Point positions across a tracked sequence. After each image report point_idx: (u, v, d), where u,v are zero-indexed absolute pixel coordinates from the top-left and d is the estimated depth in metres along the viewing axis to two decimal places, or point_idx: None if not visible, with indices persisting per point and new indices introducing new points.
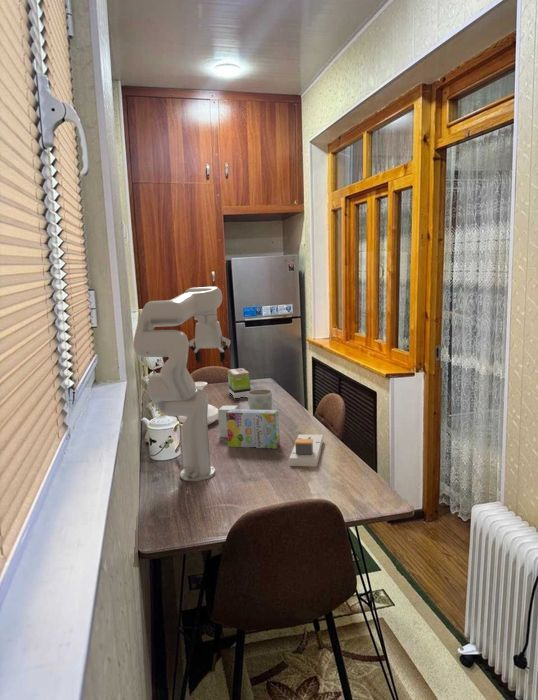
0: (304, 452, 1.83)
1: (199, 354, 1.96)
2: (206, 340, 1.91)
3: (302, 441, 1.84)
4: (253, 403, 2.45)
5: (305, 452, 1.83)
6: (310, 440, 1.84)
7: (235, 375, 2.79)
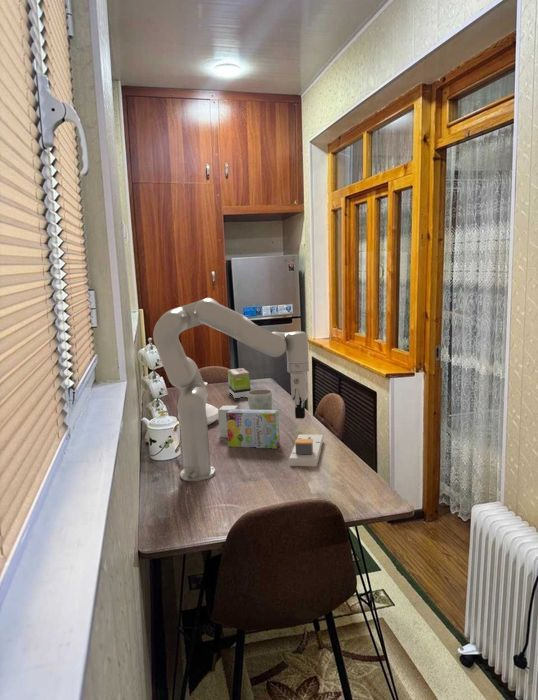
0: (304, 452, 1.83)
1: None
2: (306, 389, 1.73)
3: (302, 441, 1.84)
4: (253, 403, 2.45)
5: (305, 452, 1.83)
6: (310, 440, 1.84)
7: (235, 375, 2.79)
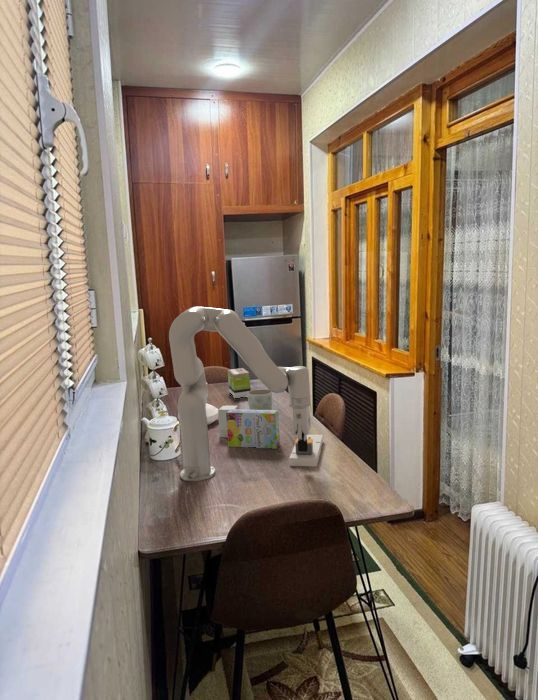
0: (304, 452, 1.83)
1: None
2: (308, 423, 1.75)
3: None
4: (253, 403, 2.45)
5: (305, 452, 1.83)
6: (310, 440, 1.84)
7: (235, 375, 2.79)
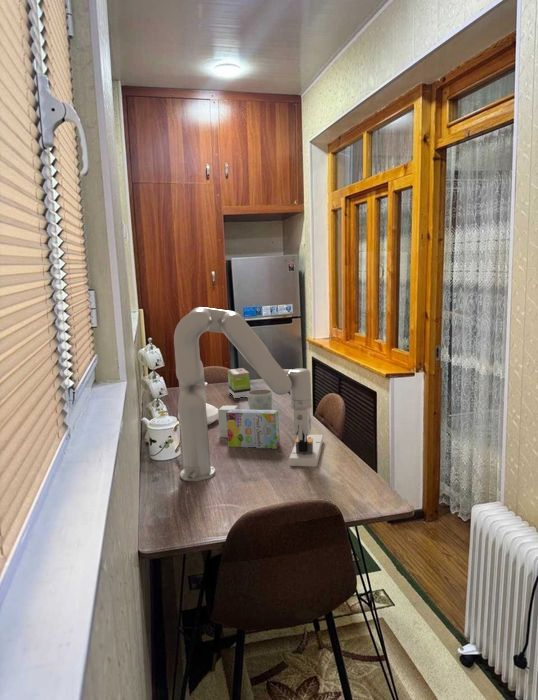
0: None
1: None
2: (309, 424, 1.79)
3: None
4: (253, 403, 2.45)
5: None
6: (310, 439, 1.85)
7: (235, 375, 2.79)
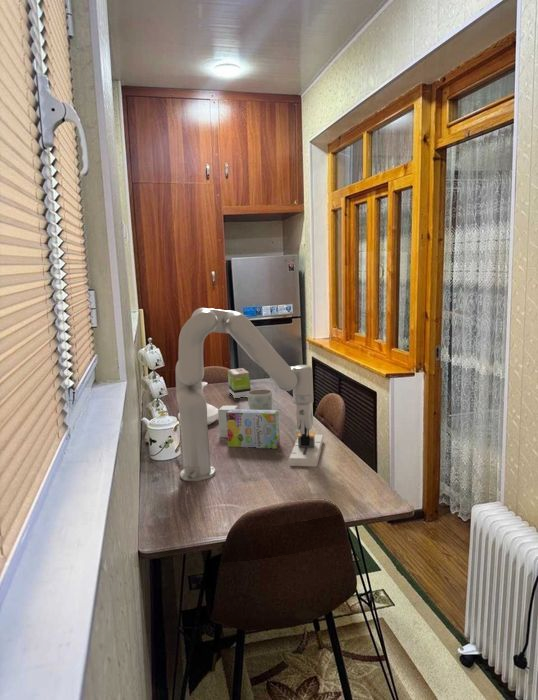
0: None
1: None
2: (311, 419, 1.85)
3: None
4: (253, 403, 2.45)
5: None
6: (312, 434, 1.91)
7: (235, 375, 2.79)
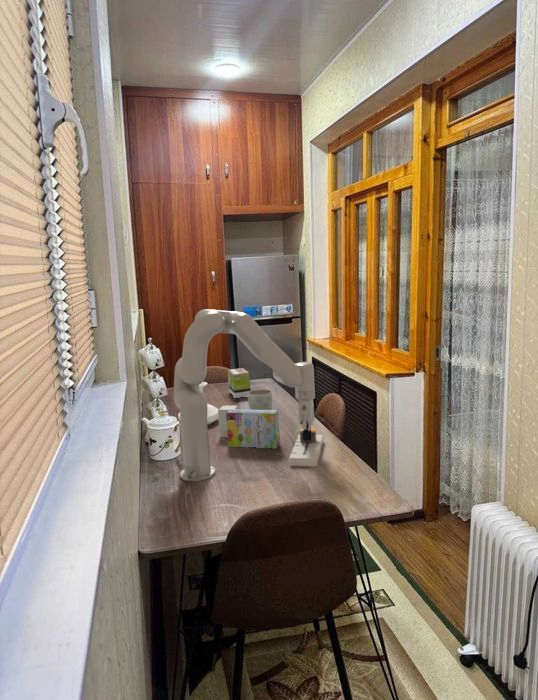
0: None
1: None
2: (313, 414, 1.91)
3: None
4: (253, 403, 2.45)
5: None
6: (314, 429, 1.97)
7: (235, 375, 2.79)
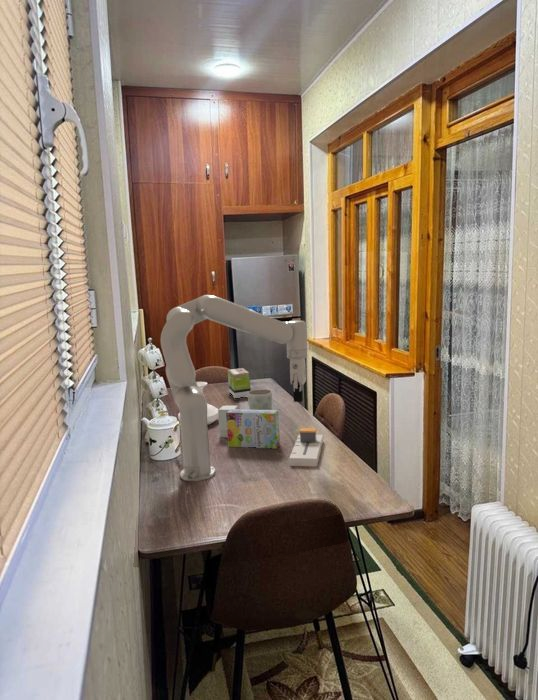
0: (308, 440, 1.96)
1: None
2: (304, 374, 1.85)
3: (306, 430, 1.96)
4: (253, 403, 2.45)
5: (309, 440, 1.96)
6: (314, 429, 1.97)
7: (235, 375, 2.79)
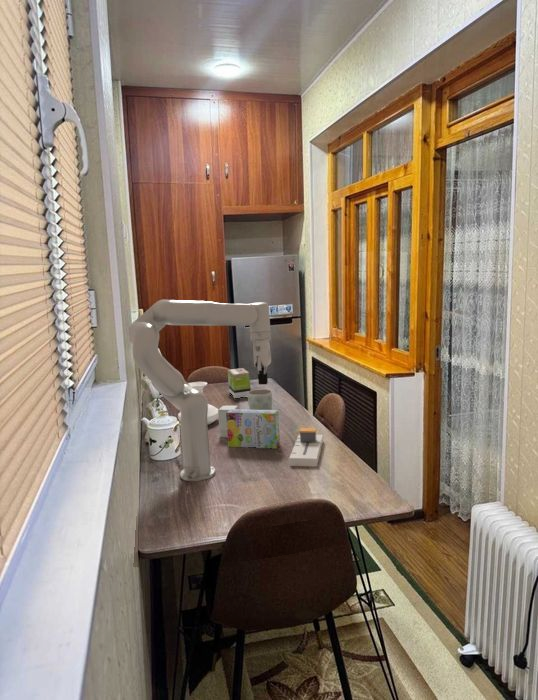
0: (308, 440, 1.96)
1: None
2: (268, 357, 1.84)
3: (306, 430, 1.96)
4: (253, 403, 2.45)
5: (309, 440, 1.96)
6: (314, 429, 1.97)
7: (235, 375, 2.79)
